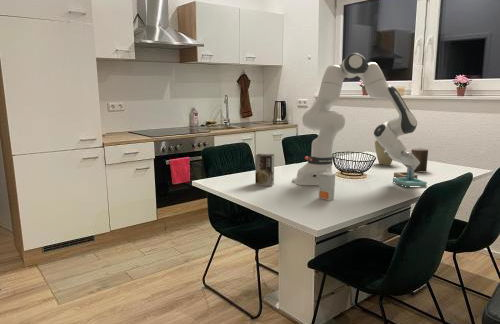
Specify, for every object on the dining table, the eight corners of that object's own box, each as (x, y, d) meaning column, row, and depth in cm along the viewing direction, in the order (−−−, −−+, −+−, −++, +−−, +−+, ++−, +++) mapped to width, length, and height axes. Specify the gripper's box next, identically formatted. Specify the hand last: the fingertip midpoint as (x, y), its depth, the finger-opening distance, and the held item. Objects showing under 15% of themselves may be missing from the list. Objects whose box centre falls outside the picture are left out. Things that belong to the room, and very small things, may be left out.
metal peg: (408, 180, 205) (410, 158, 203) (404, 178, 208) (406, 157, 206) (414, 180, 206) (416, 157, 203) (410, 178, 209) (412, 156, 207)
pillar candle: (427, 172, 237) (429, 148, 234) (410, 171, 240) (412, 147, 237) (425, 170, 246) (427, 146, 243) (409, 168, 249) (411, 145, 246)
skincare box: (318, 198, 181) (319, 173, 178) (323, 196, 184) (324, 171, 181) (329, 200, 176) (330, 175, 174) (334, 199, 179) (335, 173, 177)
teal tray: (406, 187, 200) (406, 183, 200) (392, 182, 212) (393, 178, 211) (426, 186, 203) (426, 182, 202) (411, 181, 214) (412, 177, 214)
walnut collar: (403, 181, 215) (403, 175, 214) (393, 177, 223) (394, 172, 223) (417, 180, 217) (417, 175, 216) (407, 176, 225) (407, 171, 225)
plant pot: (380, 161, 273) (382, 139, 270) (400, 164, 262) (402, 141, 259) (368, 164, 264) (370, 140, 261) (388, 167, 252) (390, 143, 250)
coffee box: (274, 183, 208) (274, 154, 205) (271, 186, 202) (272, 156, 199) (257, 182, 210) (258, 153, 207) (254, 185, 204) (255, 155, 201)
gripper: (413, 149, 192) (428, 167, 196) (389, 143, 212) (404, 160, 216) (404, 158, 192) (420, 176, 196) (382, 151, 211) (396, 168, 215)
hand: (411, 167), depth 206 cm, fingers closed on metal peg, 3 cm apart
